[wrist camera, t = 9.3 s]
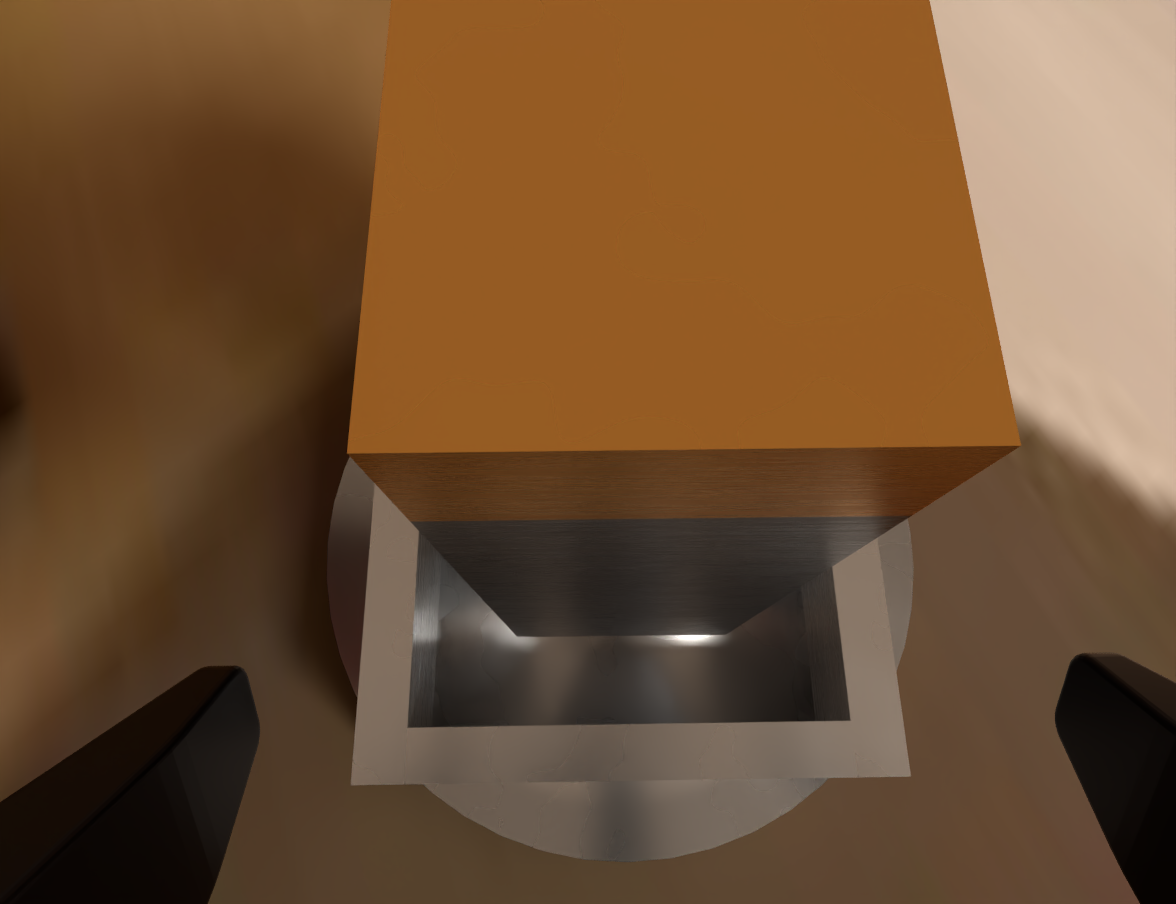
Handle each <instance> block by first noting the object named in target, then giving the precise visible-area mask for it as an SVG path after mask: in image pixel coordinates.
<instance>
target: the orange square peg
mask: <svg viewBox="0 0 1176 904" xmlns="http://www.w3.org/2000/svg"><path fill="white" fill-rule="evenodd" d="M1020 446H1021V443H1020V438H1019V434H1018V429H1017V424H1016V419H1015V414H1014V409H1013V404H1012V399H1011V395H1010V390H1009V385H1008V380H1007V375H1006V370H1005V365H1004V361H1003V356H1002V351H1001V346H1000V341H999V336H998V331H997V327H996V322H995V317H994V312H993V307H992V302H991V297H990V293H989V288H988V283H987V278H986V273H985V268H984V263H983V259H982V254H981V249H980V244H979V239H978V234H977V229H976V224H975V220H974V215H973V210H972V205H971V200H970V195H969V190H968V186H967V181H966V176H965V171H964V166H963V161H962V156H961V152H960V147H959V142H958V137H957V132H956V127H955V122H954V118H953V113H952V108H951V103H950V98H949V93H948V88H947V83H946V79H945V74H944V69H943V64H942V59H941V54H940V49H939V45H938V40H937V35H936V30H935V25H934V20H933V15H932V11H931V6H930V1H929V0H391V8H390V19H389V29H388V39H387V49H386V60H385V70H384V80H383V90H382V100H381V111H380V121H379V131H378V141H377V152H376V162H375V172H374V182H373V192H372V203H371V213H370V223H369V233H368V244H367V254H366V264H365V274H364V284H363V295H362V305H361V315H360V325H359V336H358V346H357V356H356V366H355V376H354V387H353V397H352V407H351V417H350V428H349V438H348V448H347V454H348V455H349V456H350V457H351V458H352V459H353V461H354V462H355V463H356V464H357V465H358V466H359V467H360V468H361V469H362V470H363V471H364V472H365V473H366V475H367V476H368V477H369V478H370V479H371V480H372V481H373V482H374V483H375V484H376V485H377V486H378V487H379V489H380V490H381V491H382V492H383V493H384V494H385V495H386V496H387V497H388V498H389V499H390V500H391V501H392V503H393V504H394V505H395V506H396V507H397V508H398V509H399V510H400V511H401V512H402V513H403V514H404V516H405V517H406V518H407V519H408V520H409V521H410V522H411V523H412V524H413V525H414V526H415V527H416V528H417V530H418V531H419V532H420V533H421V534H422V535H423V536H424V537H425V538H426V539H427V540H428V541H429V542H430V544H431V545H432V546H433V547H434V548H435V549H436V550H437V551H438V552H439V553H440V554H441V555H442V556H443V558H444V559H445V560H446V561H447V562H448V563H449V564H450V565H451V566H452V567H453V568H454V569H455V570H456V572H457V573H458V574H459V575H460V576H461V577H462V578H463V579H464V580H465V581H466V582H467V583H468V584H469V586H470V587H471V588H472V589H473V590H474V591H475V592H476V593H477V594H478V595H479V596H480V597H481V599H482V600H483V601H484V602H485V603H486V604H487V605H488V606H489V607H490V608H491V609H492V610H493V611H494V613H495V614H496V615H497V616H498V617H499V618H500V619H501V620H502V621H503V622H504V623H505V624H506V625H507V627H508V628H509V629H510V630H511V631H512V632H513V633H514V634H515V635H516V636H517V637H577V636H669V635H726V634H728V633H729V632H731V631H733V630H734V629H736V628H737V627H739V626H740V625H742V624H743V623H745V622H747V621H748V620H750V619H751V618H753V617H754V616H756V615H757V614H759V613H761V612H762V611H764V610H765V609H767V608H768V607H770V606H772V605H773V604H775V603H776V602H778V601H779V600H781V599H782V598H784V597H786V596H787V595H789V594H790V593H792V592H793V591H795V590H797V589H798V588H800V587H801V586H803V585H804V584H806V583H807V582H809V581H811V580H812V579H814V578H815V577H817V576H818V575H820V574H821V573H823V572H825V571H826V570H828V569H829V568H831V567H832V566H834V565H836V564H837V563H839V562H840V561H842V560H843V559H845V558H846V557H848V556H850V555H851V554H853V553H854V552H856V551H857V550H859V549H860V548H862V547H864V546H865V545H867V544H868V543H870V542H871V541H873V540H875V539H876V538H878V537H879V536H881V535H882V534H884V533H885V532H887V531H889V530H890V529H892V528H893V527H895V526H896V525H898V524H900V523H901V522H903V521H904V520H906V519H907V518H909V517H910V516H912V515H914V514H915V513H917V512H918V511H920V510H921V509H923V508H924V507H926V506H928V505H929V504H931V503H932V502H934V501H935V500H937V499H939V498H940V497H942V496H943V495H945V494H946V493H948V492H949V491H951V490H953V489H954V488H956V487H957V486H959V485H960V484H962V483H963V482H965V481H967V480H968V479H970V478H971V477H973V476H974V475H976V474H978V473H979V472H981V471H982V470H984V469H985V468H987V467H988V466H990V465H992V464H993V463H995V462H996V461H998V460H999V459H1001V458H1003V457H1004V456H1006V455H1007V454H1009V453H1010V452H1012V451H1013V450H1015V449H1017V448H1018V447H1020Z"/></svg>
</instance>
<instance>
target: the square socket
mask: <svg viewBox="0 0 1176 904" xmlns="http://www.w3.org/2000/svg"><path fill="white" fill-rule="evenodd" d="M327 588H328V597H329V607H330V617H331V621H332V625H333V629H334V633H335V638H336V642H337V646H338V650H339V654H340V657H341V660H342V662H343V665H344V667H345V670H346V672H347V675H348V678H349V680H350V683H351V685H352V688H353V690H354V693H355V694H356V696H357V698H358V700H357V713H356V726H355V738H354V751H353V764H352V776H351V785H397V784H423V785H424V786H425V787H426V788H427V789H428V790H430V791H431V792H432V793H434V794H435V795H436V796H438V797H439V798H440V799H442V800H443V801H444V802H446V803H447V804H449V805H450V806H451V807H453V808H454V809H455V810H457V811H458V812H459V813H461V814H462V815H463V816H465V817H467V818H469V819H471V820H473V821H475V822H476V823H478V824H480V825H482V826H484V827H486V828H488V829H489V830H491V831H493V832H495V833H497V834H499V835H501V836H503V837H506V838H508V839H511V840H514V841H517V842H519V843H522V844H525V845H528V846H530V847H533V848H536V849H539V850H541V851H546V852H551V853H555V854H560V855H565V856H570V857H575V858H580V859H585V860H602V861H619V862H634V861H645V860H656V859H668V858H674V857H678V856H682V855H687V854H691V853H695V852H699V851H703V850H707V849H712V848H715V847H717V846H720V845H722V844H725V843H727V842H730V841H732V840H735V839H737V838H740V837H742V836H745V835H747V834H750V833H752V832H754V831H756V830H757V829H759V828H761V827H763V826H764V825H766V824H768V823H769V822H771V821H773V820H775V819H776V818H778V817H780V816H781V815H783V814H785V813H786V812H788V811H790V810H791V809H792V808H794V807H795V806H796V805H797V804H799V803H800V802H801V801H802V800H804V799H805V798H806V797H807V796H809V795H810V794H811V793H812V792H814V791H815V790H816V789H817V788H819V787H820V786H821V785H822V784H823V783H824V782H825V781H826V780H827V779H828V778H845V777H909V776H911V774H910V767H909V760H908V753H907V746H906V738H905V731H904V724H903V717H902V710H901V703H900V696H899V689H898V681H897V674H896V671H897V668H898V665H899V662H900V659H901V656H902V653H903V650H904V647H905V641H906V636H907V630H908V625H909V620H910V614H911V609H912V590H913V559H912V547H911V536H910V529H909V524H908V520H907V519H906V520H904V521H903V522H901V523H900V524H898V525H896V526H895V527H893V528H892V529H890V530H889V531H887V532H885V533H884V534H882V535H881V536H879V537H878V538H876V539H875V540H873V541H871V542H870V543H868V544H867V545H865V546H864V547H862V548H860V549H859V550H857V551H856V552H854V553H853V554H851V555H850V556H848V557H846V558H845V559H843V560H842V561H840V562H839V563H837V564H836V565H834V566H832V567H831V568H829V569H828V570H826V571H825V572H823V573H821V574H820V575H818V576H817V577H815V578H814V579H812V580H811V581H809V582H807V583H806V584H804V585H803V586H801V587H800V588H798V589H797V590H795V591H793V592H792V593H790V594H789V595H787V596H786V597H784V598H782V599H781V600H779V601H778V602H776V603H775V604H773V605H772V606H770V607H768V608H767V609H765V610H764V611H762V612H761V613H759V614H757V615H756V616H754V617H753V618H751V619H750V620H748V621H747V622H745V623H743V624H742V625H740V626H739V627H737V628H736V629H734V630H733V631H731V632H729V633H728V634H726V635H669V636H577V637H517V636H516V635H515V634H514V633H513V632H512V631H511V630H510V629H509V628H508V627H507V625H506V624H505V623H504V622H503V621H502V620H501V619H500V618H499V617H498V616H497V615H496V614H495V613H494V611H493V610H492V609H491V608H490V607H489V606H488V605H487V604H486V603H485V602H484V601H483V600H482V599H481V597H480V596H479V595H478V594H477V593H476V592H475V591H474V590H473V589H472V588H471V587H470V586H469V584H468V583H467V582H466V581H465V580H464V579H463V578H462V577H461V576H460V575H459V574H458V573H457V572H456V570H455V569H454V568H453V567H452V566H451V565H450V564H449V563H448V562H447V561H446V560H445V559H444V558H443V556H442V555H441V554H440V553H439V552H438V551H437V550H436V549H435V548H434V547H433V546H432V545H431V544H430V542H429V541H428V540H427V539H426V538H425V537H424V536H423V535H422V534H421V533H420V532H419V531H418V530H417V528H416V527H415V526H414V525H413V524H412V523H411V522H410V521H409V520H408V519H407V518H406V517H405V516H404V514H403V513H402V512H401V511H400V510H399V509H398V508H397V507H396V506H395V505H394V504H393V503H392V501H391V500H390V499H389V498H388V497H387V496H386V495H385V494H384V493H383V492H382V491H381V490H380V489H379V487H378V486H377V485H376V484H375V483H374V482H373V481H372V480H371V479H370V478H369V477H368V476H367V475H366V473H365V472H364V471H363V470H362V469H361V468H360V467H359V466H358V465H357V464H356V463H355V462H354V461H353V459H352V458H351V457H350V458H349V460H348V462H347V464H346V466H345V469H344V472H343V475H342V479H341V482H340V485H339V488H338V492H337V495H336V498H335V502H334V506H333V512H332V518H331V524H330V530H329V536H328V549H327Z"/></svg>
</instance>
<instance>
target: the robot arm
mask: <svg viewBox="0 0 1176 904" xmlns="http://www.w3.org/2000/svg"><path fill="white" fill-rule="evenodd" d="M1055 723H1056V728H1057V732H1058V735H1059V737H1060V739H1061V742H1062V744H1063V746H1064V748H1065V750H1066V752H1067V755H1068V757H1069V759H1070V761H1071V763H1072V765H1073V768H1074V770H1075V772H1076V774H1077V776H1078V779H1079V781H1080V783H1081V785H1082V787H1083V789H1084V792H1085V794H1086V796H1087V798H1088V800H1089V802H1090V805H1091V807H1092V809H1093V811H1094V813H1095V815H1096V818H1097V820H1098V822H1099V824H1100V826H1101V828H1102V831H1103V833H1104V835H1105V837H1106V839H1107V841H1108V844H1109V846H1110V848H1111V850H1112V852H1113V854H1114V856H1115V858H1116V860H1117V862H1118V864H1119V866H1120V868H1121V870H1122V872H1123V874H1124V876H1125V877H1126V879H1127V881H1128V883H1129V885H1130V887H1131V888H1132V890H1133V892H1134V894H1135V896H1136V897H1137V899H1138V901H1139V903H1140V904H1176V682H1174V681H1172V680H1170V679H1168V678H1166V677H1164V676H1162V675H1160V674H1158V673H1156V672H1154V671H1152V670H1150V669H1148V668H1146V667H1144V666H1142V665H1140V664H1138V663H1137V662H1135V661H1133V660H1131V659H1129V658H1127V657H1125V656H1123V655H1120V654H1116V653H1082V654H1079V655H1076V656H1075V657H1074V658H1073V659H1072V660H1071V662H1070V665H1069V668H1068V671H1067V674H1066V677H1065V681H1064V684H1063V687H1062V690H1061V694H1060V697H1059V700H1058V703H1057V707H1056V711H1055ZM259 737H260V724H259V719H258V715H257V711H256V707H255V703H254V699H253V695H252V691H251V687H250V683H249V679H248V676H247V674H246V672H245V671H244V669H243V668H241V667H239V666H207V667H203V668H200V669H199V670H197V671H195V672H194V673H192V674H191V675H189V676H188V677H186V678H185V679H183V680H182V681H180V682H179V683H177V684H176V685H174V686H173V687H171V688H170V689H168V690H167V691H165V692H164V693H162V694H161V695H159V696H158V697H156V698H155V699H153V700H152V701H150V702H149V703H148V704H146V705H145V706H143V707H142V708H140V709H139V710H137V711H136V712H134V713H133V714H131V715H130V716H128V717H127V718H125V719H124V720H122V721H121V722H119V723H118V724H116V725H115V726H113V727H112V728H110V729H109V730H107V731H106V732H104V733H103V734H101V735H100V736H98V737H97V738H95V739H94V740H92V741H91V742H89V743H88V744H86V745H85V746H83V747H82V748H80V749H79V750H77V751H76V752H74V753H73V754H71V755H70V756H68V757H67V758H65V759H64V760H62V761H61V762H59V763H58V764H56V765H55V766H53V767H52V768H51V769H49V770H48V771H46V772H45V773H43V774H42V775H40V776H39V777H37V778H36V779H34V780H33V781H31V782H30V783H28V784H27V785H25V786H24V787H22V788H21V789H19V790H18V791H16V792H15V793H13V794H12V795H10V796H9V797H7V798H6V799H4V800H3V801H1V802H0V904H208V901H209V899H210V896H211V894H212V891H213V889H214V886H215V883H216V880H217V877H218V874H219V871H220V868H221V865H222V862H223V859H224V856H225V853H226V849H227V846H228V843H229V839H230V836H231V833H232V830H233V826H234V823H235V820H236V816H237V813H238V810H239V807H240V803H241V800H242V797H243V793H244V790H245V787H246V784H247V780H248V777H249V774H250V770H251V767H252V764H253V760H254V757H255V754H256V751H257V747H258V743H259Z"/></svg>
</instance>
